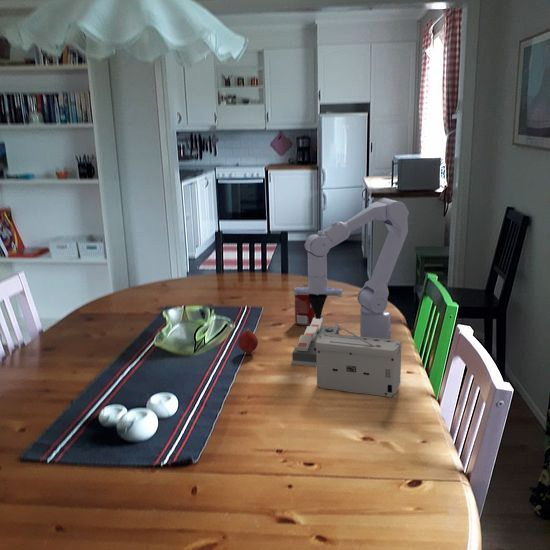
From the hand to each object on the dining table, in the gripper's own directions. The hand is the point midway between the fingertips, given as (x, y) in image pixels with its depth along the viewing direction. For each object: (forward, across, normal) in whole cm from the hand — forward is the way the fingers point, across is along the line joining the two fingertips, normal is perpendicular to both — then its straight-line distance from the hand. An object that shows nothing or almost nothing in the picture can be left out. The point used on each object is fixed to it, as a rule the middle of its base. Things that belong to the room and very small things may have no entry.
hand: (318, 317), depth 170 cm
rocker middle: (+4, +2, +3) cm, 5 cm away
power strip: (+9, 0, +3) cm, 9 cm away
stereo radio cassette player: (+9, -15, +27) cm, 32 cm away
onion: (+9, +19, +11) cm, 24 cm away
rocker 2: (+4, +2, -5) cm, 7 cm away
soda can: (+9, +8, -18) cm, 22 cm away
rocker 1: (+4, +2, +11) cm, 12 cm away
